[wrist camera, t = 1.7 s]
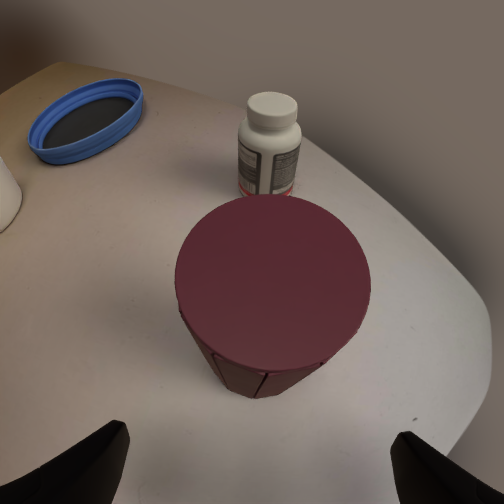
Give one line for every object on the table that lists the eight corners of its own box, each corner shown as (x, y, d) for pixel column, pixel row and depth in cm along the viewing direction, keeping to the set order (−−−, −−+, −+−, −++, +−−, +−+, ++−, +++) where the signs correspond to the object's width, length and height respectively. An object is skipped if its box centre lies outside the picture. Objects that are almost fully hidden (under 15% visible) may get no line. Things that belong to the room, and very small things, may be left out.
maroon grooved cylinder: (321, 356, 21) (404, 280, 10) (251, 416, 19) (263, 417, 8) (263, 293, 24) (281, 170, 13) (193, 344, 21) (139, 254, 10)
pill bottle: (290, 169, 31) (302, 90, 23) (294, 208, 28) (311, 123, 20) (239, 167, 31) (239, 86, 23) (236, 206, 28) (236, 119, 20)
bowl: (29, 188, 30) (17, 169, 26) (43, 121, 38) (37, 106, 35) (155, 138, 34) (150, 115, 31) (139, 84, 42) (135, 67, 39)
